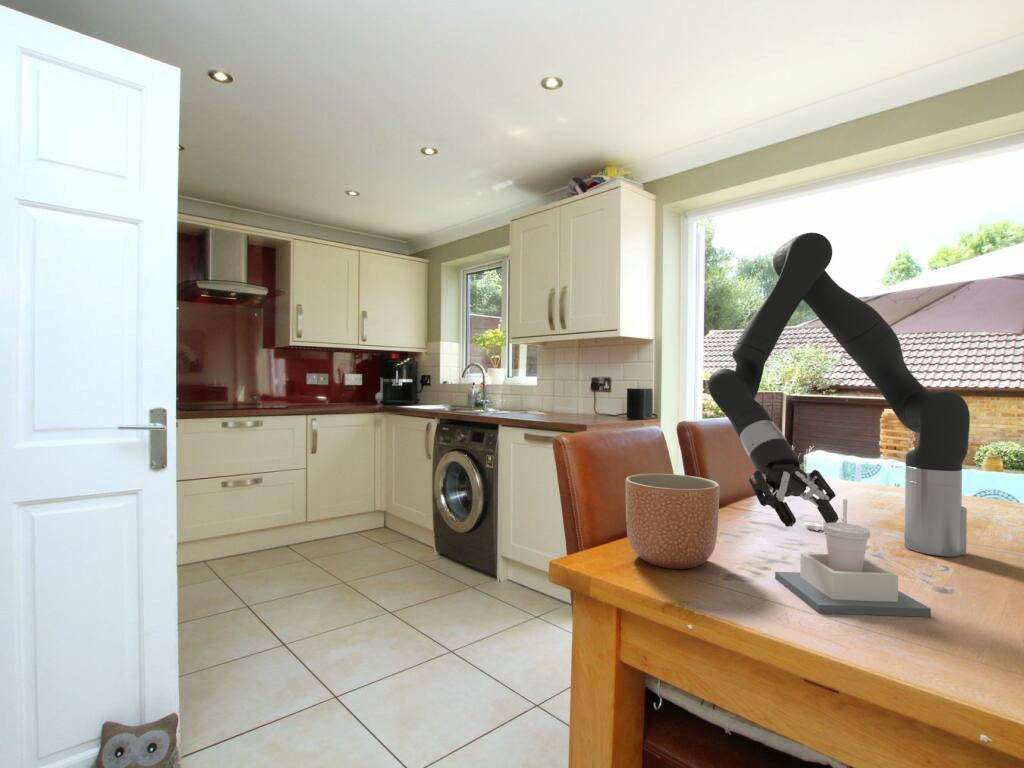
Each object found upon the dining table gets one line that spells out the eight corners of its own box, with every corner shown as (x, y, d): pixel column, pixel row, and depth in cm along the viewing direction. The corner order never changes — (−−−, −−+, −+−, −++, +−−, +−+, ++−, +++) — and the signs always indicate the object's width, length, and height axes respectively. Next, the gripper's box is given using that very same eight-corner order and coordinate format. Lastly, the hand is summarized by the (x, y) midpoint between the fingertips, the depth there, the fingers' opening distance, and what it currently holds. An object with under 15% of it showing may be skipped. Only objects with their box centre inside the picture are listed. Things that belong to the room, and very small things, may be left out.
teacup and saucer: (801, 531, 125) (801, 514, 125) (812, 525, 131) (812, 509, 131) (843, 539, 119) (844, 521, 119) (853, 533, 124) (853, 515, 124)
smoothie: (854, 581, 87) (857, 497, 87) (877, 597, 81) (880, 506, 81) (814, 579, 88) (816, 495, 88) (834, 594, 82) (836, 503, 82)
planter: (726, 580, 90) (727, 491, 90) (624, 572, 94) (626, 486, 94) (709, 550, 107) (710, 475, 107) (624, 544, 110) (625, 471, 110)
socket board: (869, 581, 91) (870, 551, 91) (930, 616, 77) (931, 581, 77) (775, 578, 92) (775, 548, 92) (818, 612, 78) (818, 577, 78)
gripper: (745, 437, 98) (789, 513, 87) (809, 436, 101) (860, 510, 90) (726, 461, 103) (766, 536, 92) (789, 460, 107) (834, 533, 95)
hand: (813, 523), depth 91 cm, fingers open, 8 cm apart
